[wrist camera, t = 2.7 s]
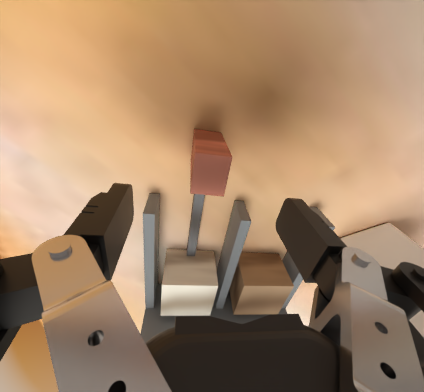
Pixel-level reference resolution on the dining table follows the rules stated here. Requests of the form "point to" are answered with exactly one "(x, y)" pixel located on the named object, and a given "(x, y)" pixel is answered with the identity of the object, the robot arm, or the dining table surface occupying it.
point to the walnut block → (259, 284)
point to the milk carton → (390, 253)
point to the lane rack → (225, 270)
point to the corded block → (191, 258)
